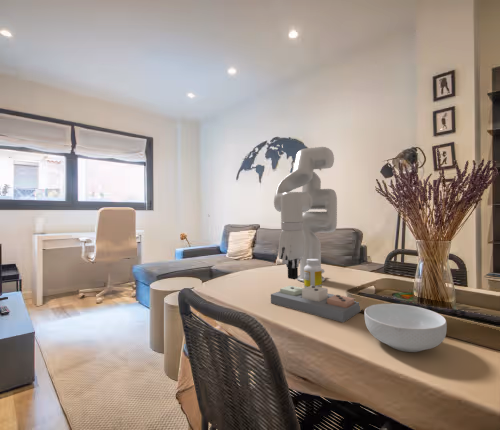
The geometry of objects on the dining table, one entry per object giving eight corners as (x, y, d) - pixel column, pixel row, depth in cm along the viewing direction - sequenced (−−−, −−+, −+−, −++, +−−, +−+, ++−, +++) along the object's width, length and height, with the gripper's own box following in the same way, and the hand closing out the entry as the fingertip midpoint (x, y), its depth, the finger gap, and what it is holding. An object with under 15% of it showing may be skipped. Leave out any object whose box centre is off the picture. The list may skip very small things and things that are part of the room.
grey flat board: (294, 294, 106) (294, 286, 106) (362, 309, 88) (362, 300, 88) (270, 302, 96) (270, 294, 96) (343, 322, 78) (343, 311, 78)
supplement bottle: (322, 291, 111) (322, 258, 111) (321, 295, 104) (320, 261, 104) (305, 289, 113) (305, 257, 113) (303, 294, 107) (302, 260, 107)
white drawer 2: (311, 297, 97) (311, 284, 97) (327, 300, 92) (327, 287, 92) (302, 301, 92) (302, 288, 92) (318, 304, 88) (318, 291, 88)
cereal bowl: (384, 324, 77) (384, 298, 77) (457, 346, 64) (457, 315, 64) (350, 342, 66) (350, 312, 66) (429, 372, 53) (429, 335, 53)
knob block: (290, 296, 103) (290, 284, 103) (304, 299, 99) (304, 287, 99) (280, 299, 98) (280, 287, 98) (294, 303, 94) (294, 290, 94)
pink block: (336, 307, 90) (336, 293, 90) (354, 311, 86) (354, 297, 86) (327, 311, 86) (327, 297, 86) (345, 316, 82) (345, 301, 82)
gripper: (295, 225, 107) (295, 272, 107) (270, 228, 96) (271, 281, 97) (312, 225, 102) (313, 275, 102) (288, 229, 91) (289, 285, 91)
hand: (292, 278), depth 99 cm, fingers closed
